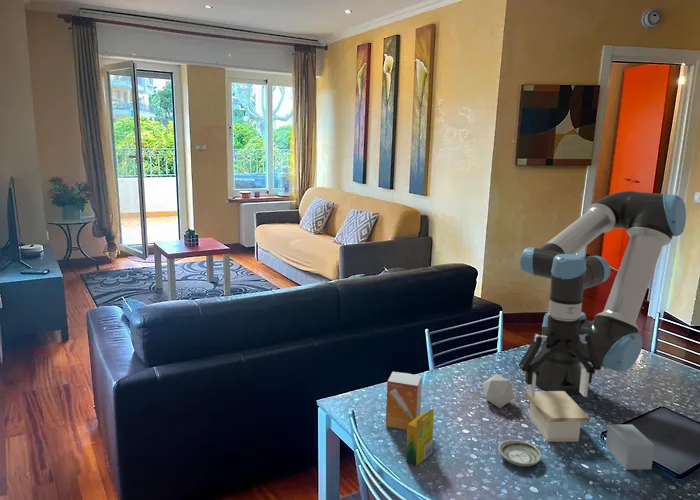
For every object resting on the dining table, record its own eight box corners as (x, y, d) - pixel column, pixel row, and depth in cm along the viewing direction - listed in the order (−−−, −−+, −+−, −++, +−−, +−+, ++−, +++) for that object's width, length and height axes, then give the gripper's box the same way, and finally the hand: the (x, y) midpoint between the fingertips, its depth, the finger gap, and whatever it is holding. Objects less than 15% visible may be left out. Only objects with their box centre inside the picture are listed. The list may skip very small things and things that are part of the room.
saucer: (516, 477, 115) (517, 467, 115) (488, 453, 124) (489, 444, 123) (549, 466, 119) (550, 457, 118) (520, 444, 128) (521, 435, 127)
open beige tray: (547, 441, 129) (549, 419, 128) (529, 416, 140) (530, 396, 139) (578, 441, 129) (581, 419, 128) (558, 416, 141) (560, 396, 140)
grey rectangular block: (625, 469, 118) (628, 445, 117) (605, 446, 127) (608, 424, 126) (651, 469, 118) (654, 445, 117) (629, 446, 127) (632, 424, 126)
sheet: (544, 421, 126) (545, 418, 126) (524, 394, 140) (524, 391, 140) (589, 421, 127) (589, 417, 127) (564, 394, 141) (564, 391, 140)
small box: (385, 427, 134) (386, 380, 132) (390, 415, 140) (392, 370, 138) (416, 432, 132) (418, 385, 129) (420, 420, 138) (422, 375, 135)
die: (519, 409, 146) (515, 374, 150) (508, 404, 140) (504, 369, 144) (491, 411, 150) (488, 377, 154) (479, 407, 144) (476, 372, 148)
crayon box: (422, 448, 125) (424, 403, 123) (432, 452, 124) (435, 408, 121) (405, 462, 120) (407, 416, 117) (416, 467, 118) (418, 420, 116)
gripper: (519, 322, 125) (514, 403, 129) (621, 321, 125) (612, 401, 130) (509, 312, 132) (504, 388, 136) (605, 310, 133) (597, 387, 137)
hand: (557, 394), depth 133 cm, fingers open, 13 cm apart
